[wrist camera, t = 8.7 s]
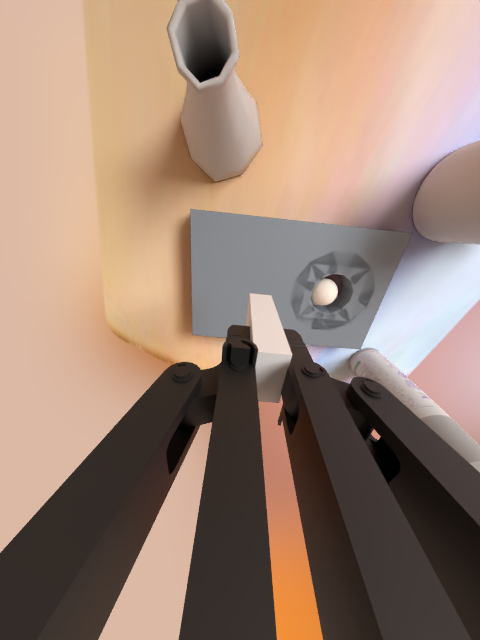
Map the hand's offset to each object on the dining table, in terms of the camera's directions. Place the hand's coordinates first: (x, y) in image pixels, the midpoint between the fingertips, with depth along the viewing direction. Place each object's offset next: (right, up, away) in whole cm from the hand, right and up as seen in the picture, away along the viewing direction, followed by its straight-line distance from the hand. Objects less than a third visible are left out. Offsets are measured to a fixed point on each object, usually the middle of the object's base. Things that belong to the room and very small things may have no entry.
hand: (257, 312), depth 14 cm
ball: (+9, +3, +9) cm, 13 cm away
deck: (+4, +4, +10) cm, 12 cm away
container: (+18, -7, +16) cm, 25 cm away
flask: (-3, +17, +4) cm, 18 cm away
